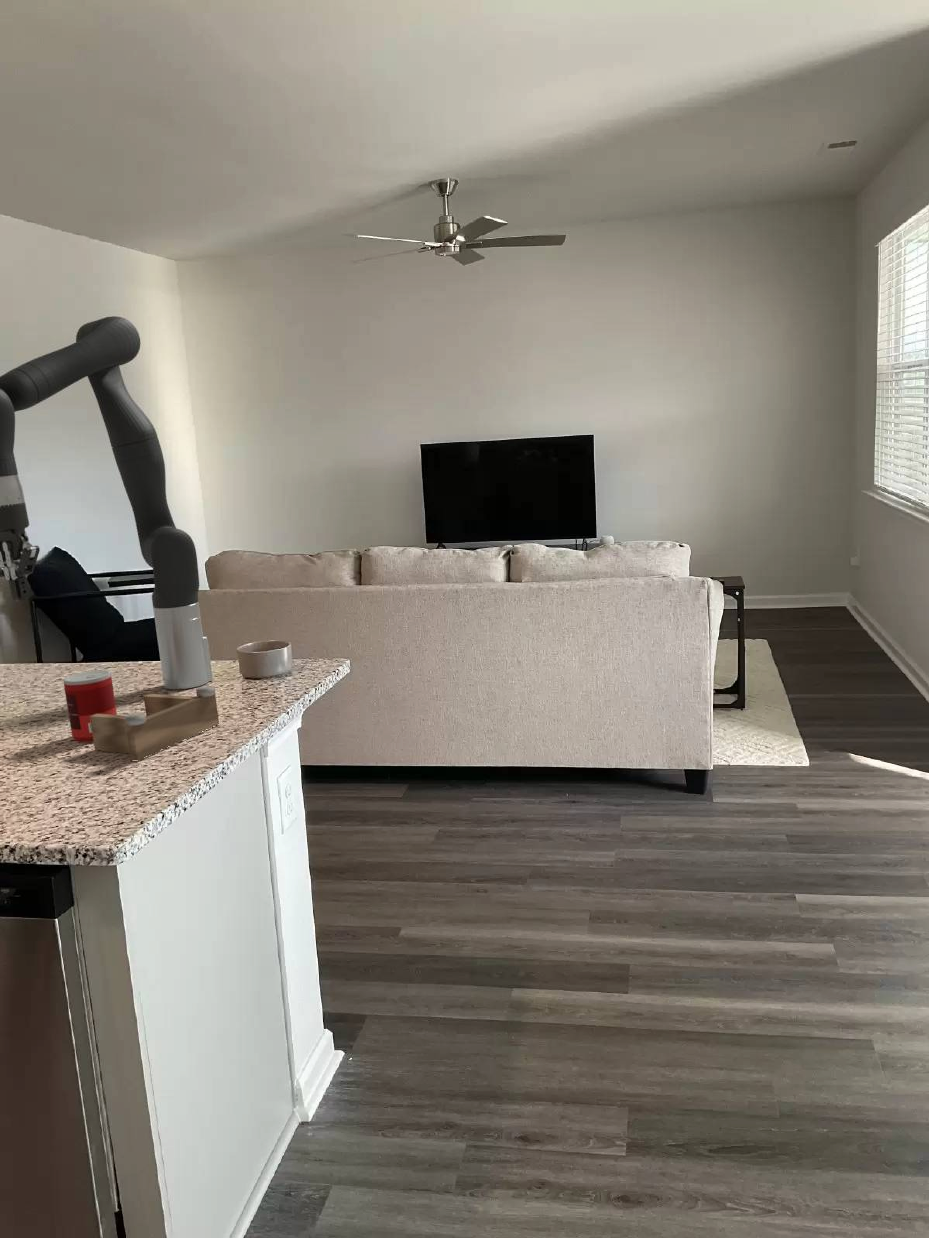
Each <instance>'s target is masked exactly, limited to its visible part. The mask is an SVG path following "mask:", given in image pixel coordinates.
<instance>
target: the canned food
mask: <svg viewBox="0 0 929 1238" xmlns="http://www.w3.org/2000/svg"><path fill="white" fill-rule="evenodd" d="M63 686H64V687H63V688H64V694H65V701H66V706H67V713H68V718H69V726H70V730H71V735H72V739H73V740H74V741H76V742H79V743H90V742H94V740H93V734H92V727H91V721H90V716H92V715H95V714H108V715H118V713H117V712H118V711H117V705H116V701H115V693H114V685H113V680H112V675H111V672H110V671H109V670H102V669H101V670H90V671H83V672H79V673H76V674H70V675H69V676H66V677H64V679H63Z"/></svg>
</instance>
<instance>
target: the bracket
mask: <svg viewBox="0 0 929 1238" xmlns="http://www.w3.org/2000/svg"><path fill="white" fill-rule="evenodd" d="M195 693H196V696H189V695H174V694H173V695H170V694H158V693H157V694H156V693H155V694H154V693H149V694H145V695H143V701H144V709H145V712H135V713H130V714H126V715H121V714H120V715H119V714H117V715H108V714H95V715H92V716H90V721H91V727H92V734H93V740H94V741H93V745H94V746H93V747H94V751H95V750H101V751H100V752H106V751H109V752H108V753H116V752H119V753H118V754H127V753H130V754H129V757H130V761H131V760H141V759H143V758H144V757H146V756H149V755H151V754H153V753H156V752H158V751H160V750H161V749H165V748H167V747H168V746H172V745H174V744H175V743H179V742H181V741H182V740H184V739H187V740H189V739H188V738H189V737H191V736H194V735H196V734H198V733H199V732H202V731H205V730H206V729H209V728H211V727H213V726H216V725H218V724H219V725H220V722H219V721H220V720H219V714H218V713H219V712H218V704H217V696H216V687H215V685H201V686H198V687H197V688H195ZM216 727H217V726H216ZM205 732H206V731H205ZM196 736H197V735H196ZM194 737H195V736H194ZM181 743H182V742H181ZM179 744H180V743H179ZM174 746H175V745H174ZM172 747H173V746H172ZM167 749H168V748H167ZM165 750H166V749H165ZM120 752H121V753H120ZM156 754H157V753H156ZM143 760H144V759H143ZM141 761H142V760H141Z"/></svg>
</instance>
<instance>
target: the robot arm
mask: <svg viewBox="0 0 929 1238" xmlns="http://www.w3.org/2000/svg"><path fill="white" fill-rule="evenodd" d="M140 349H141V336H140V333H139V331H138V329H137V328H136V326H135V325H134V324H133V322H131V321H130V320H128V319H127V318H124V317H121V316H114V315H113V316H106V317H103V318H102V317H101V318H100V319H96V320H92V321H89V322H87V323H84V324H83V325H82V326H80V327H79V328H78V330H77V332H76V336H75V342H73V343H71V344H70V345H68V346H67V345H66V346H64V347H63V348H59V349H57V350H54V351H52V352H48V353H46V354H44V355H41V356H38V357H36V358H33V359H30V360H29V361H27V362H25V363H22V364H20V365H18V366H17V367H14V368H12V369H11V370H8V371H7V372H6V373H4V374H2V375H0V578H5V580H6V581H8V584H9V589H10V593H11V596H12V600H13V601H17V602H18V601H24V600H28V599H29V589H28V584H27V578H28V576H29V575H31V574H33V573H34V570H35V567H36V565H37V564H36V563H37V561H38V557H39V554H40V551H41V548H40V547H39V545H33V544H31V543H30V542H29V536H28V535H27V532H26V528H28V527H29V526H30V520H29V516H28V510H27V505H26V501H25V495H24V490H23V486H22V483H21V480H20V477H19V473H18V467H17V462H16V457H15V454H14V447H15V446H14V445H15V439H16V438H15V437H16V436H15V435H16V432H15V431H16V412H20V411H24V410H28V409H30V408H32V407H34V406H36V405H38V404H40V403H41V402H43V401H46V400H47V399H48V398H51V397H52V396H55V395H56V394H58V393H59V392H62V391H63V390H65V389H66V388H68V387H70V386H72V385H73V384H75V383H76V382H79V381H80V380H83V379H84V378H87V379H88V381H89V383H90V386H91V388H92V391H93V393H94V394H93V395H94V396H95V399H96V403H97V405H98V408H99V410H100V413H101V414H100V415H101V418H102V421H103V423H104V425H105V429H106V432H107V435H108V439H109V443H110V447H111V450H112V454H113V456H114V460H115V463H116V466H117V469H118V472H119V474H120V477H121V478H120V479H121V481H122V483H123V486H124V489H125V492H126V495H127V499H128V501H129V503H130V506H131V508H132V509H131V510H132V512H133V515H134V516H133V517H134V522H135V526H136V533H137V537H138V542H139V549H140V553H141V555H142V558H143V560H144V561H145V563H146V565H148V566H149V567H150V568H151V569H152V572H153V580H154V581H153V582H154V583H153V584H154V588H153V592H152V594H151V601H152V607H153V609H152V610H153V616H154V623H155V631H156V638H157V639H156V640H157V645H158V651H159V659H160V666H161V672H162V673H161V674H162V680H163V687H164V688H165V689H168V690H184V689H191V688H196V687H197V688H198V687H201V686H204V685H206V684H207V683H209V682H210V681H213V680H214V678H213V671H212V670H213V669H212V661H211V654H210V653H211V652H210V647H209V638H208V637H207V636H206V635H205V636H204V632H203V626H202V624H203V623H202V618H201V609H200V603H199V591H200V575H199V565H198V564H199V563H198V556H197V555H198V554H197V549H196V545H195V543H194V541H193V539H192V537H191V536H190V534H188V533H187V532H186V531H184V530H183V529H179V528H177V526H176V524H175V522H174V520H173V516H172V514H171V510H170V507H169V503H168V499H167V491H166V490H167V489H166V486H167V485H166V483H167V481H166V464H165V458H164V453H163V450H162V447H161V444H160V441H159V437H158V433H157V431H156V428H155V426H154V425H153V423H152V422H151V420H150V419H149V417H148V416H147V414H145V413H144V411H143V410H142V409H141V408H140V407H139V405H138V404H137V402H135V400H134V399H133V398H132V396H131V395H130V393H129V391H128V390H127V387H126V383H125V382H124V378H123V375H122V372H121V369H120V367H121V366H123V365H126V364H128V363H130V362H131V361H133V360H134V359H135V358H136V357H137V356H138V354H139V352H140Z"/></svg>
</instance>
